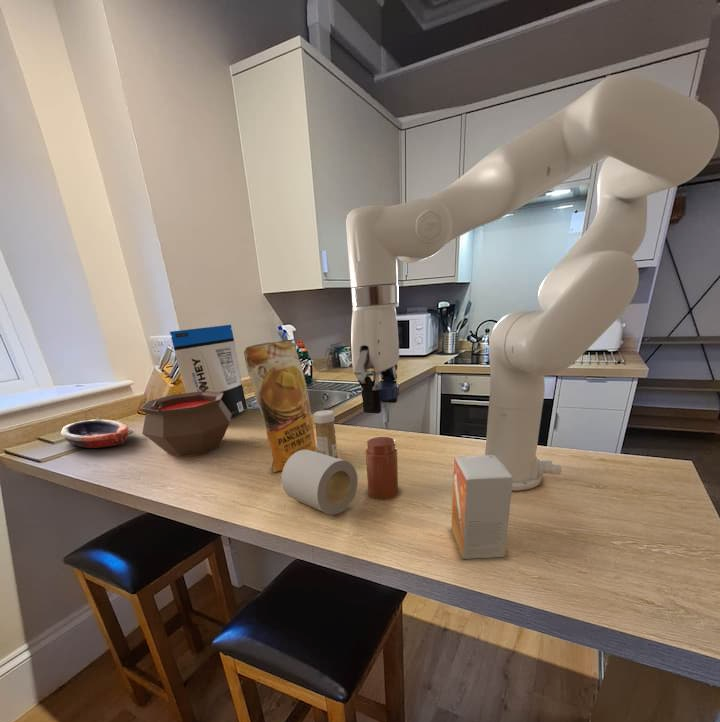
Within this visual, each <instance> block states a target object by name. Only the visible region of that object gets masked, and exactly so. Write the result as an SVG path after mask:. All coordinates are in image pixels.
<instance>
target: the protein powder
mask: <svg viewBox="0 0 720 722" xmlns="http://www.w3.org/2000/svg"><path fill="white" fill-rule="evenodd" d="M169 333H170V334H169V335H170V336H171V337H170V338H171V343H172V346H173V350H174V354H175V358H176V362H177V365H178V369H179V374H180V377H181V381H182V384H183V388H184V393H191V392H201V390H200V389H199V388H198V386H199V385H200V383H201V382H202V383H203V384H204V385H205V386H207V389H206V390H205V391H209V392H220V393H223V396H222V398H221V400H222V401H223V403H224V404H225V406H226V407H227V408H228V410H229V411H230V413H231V414H232V416H231V419H234V418H235V417H239V416H240V415H241V414H243V413H244V412H245V411H246V410H248V407H247V401H246V397H245V393H244V392H245V391H244V386H243V382H242V377H241V371H240V365H239V360H238V354H237V349H236V343H235V338H234V333H233V329H232V324H223V325H216V326H215V325H214V326H208V327H207V326H206V327H198V328H191V329H190V328H189V329H182V330H181V329H180V330H173V331H169ZM201 388H202V389H204V387H203V386H201Z"/></svg>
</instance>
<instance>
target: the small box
mask: <svg viewBox="0 0 720 722" xmlns="http://www.w3.org/2000/svg"><path fill="white" fill-rule="evenodd" d="M512 483H513V476H512V475H511V474H510V473H509V471H508V470H507V469H506V467H505V466H504V464H502V463H501V462H500V460H499V459H498V458H497V457H496V456H495V455H485V454H484V455H471V456H469V455H468V456H459V457H454V458H453V480H452V502H451V503H452V505H451V527H450V528H451V532H452V534H453V537H454V539H455V541H456V542H455V543H456V544H457V547H458V550H459V552H460V555H461V558H462V559H463V560H472V559H491V558H492V559H493V558H504V557H505V556H506V548H507V539H508V529H509V519H510V510H511V502H512V501H511V500H512V492H513V490H512Z"/></svg>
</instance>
